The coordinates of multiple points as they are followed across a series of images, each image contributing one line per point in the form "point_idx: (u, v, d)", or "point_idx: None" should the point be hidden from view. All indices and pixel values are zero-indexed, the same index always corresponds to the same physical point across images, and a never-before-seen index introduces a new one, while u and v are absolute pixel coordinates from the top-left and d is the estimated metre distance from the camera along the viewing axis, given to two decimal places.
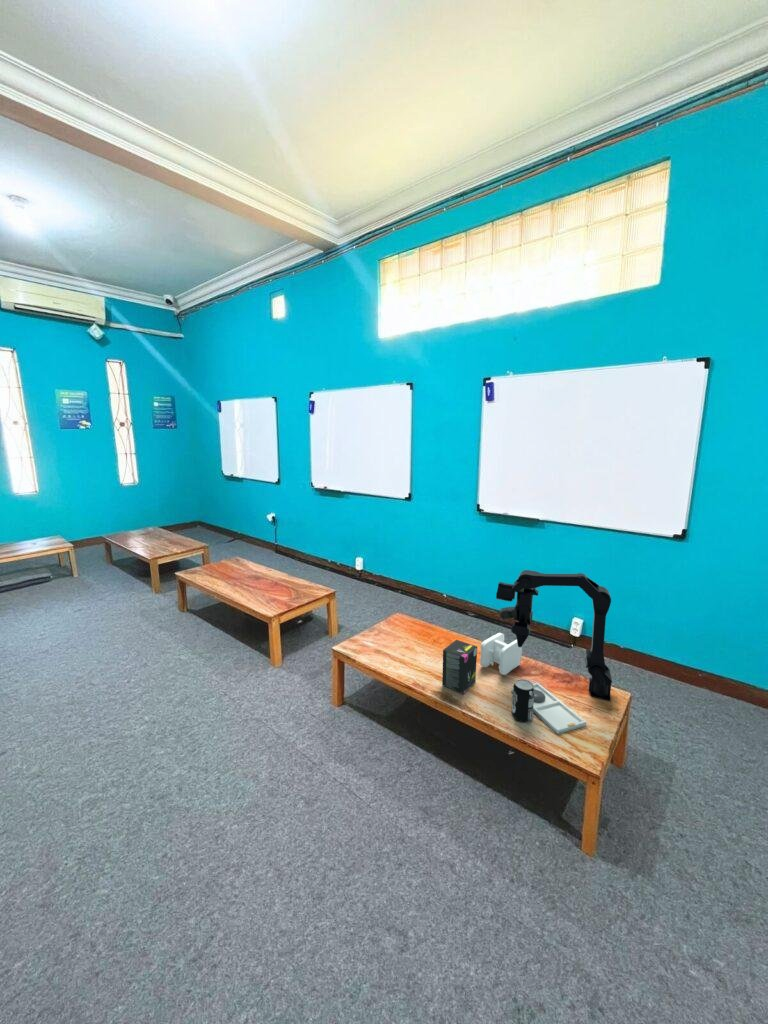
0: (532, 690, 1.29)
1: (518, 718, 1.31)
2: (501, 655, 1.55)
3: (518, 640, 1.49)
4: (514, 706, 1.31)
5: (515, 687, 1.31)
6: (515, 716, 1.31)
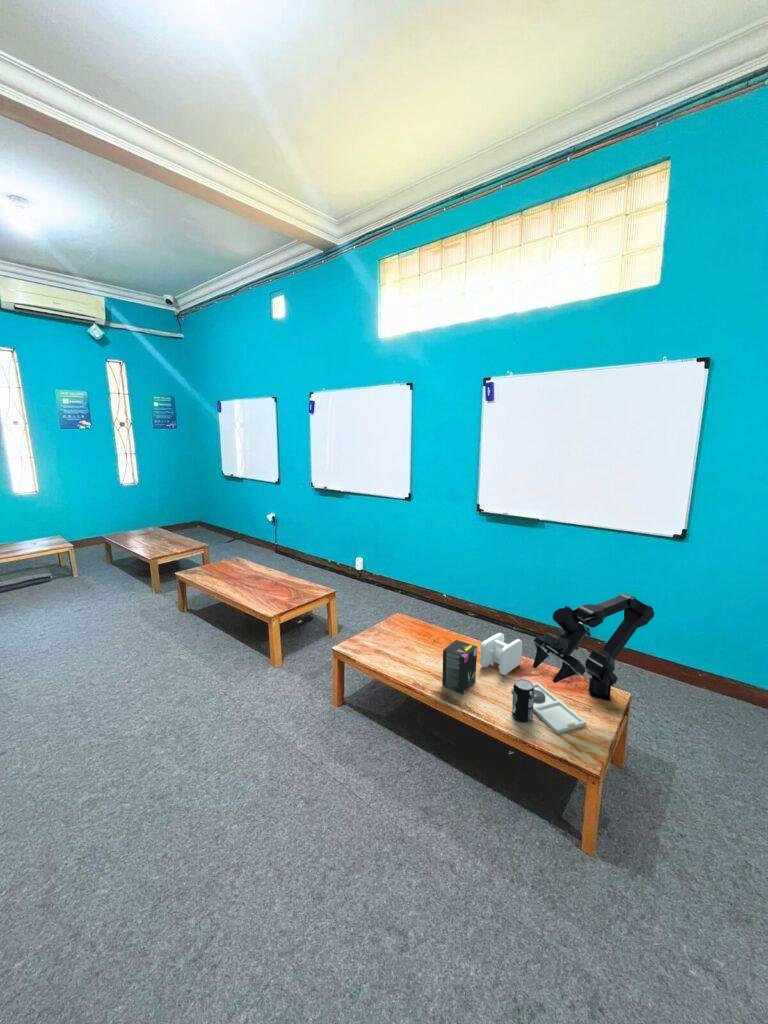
0: (532, 690, 1.29)
1: (518, 718, 1.31)
2: (501, 655, 1.55)
3: (560, 675, 1.29)
4: (514, 706, 1.31)
5: (515, 687, 1.31)
6: (515, 716, 1.31)
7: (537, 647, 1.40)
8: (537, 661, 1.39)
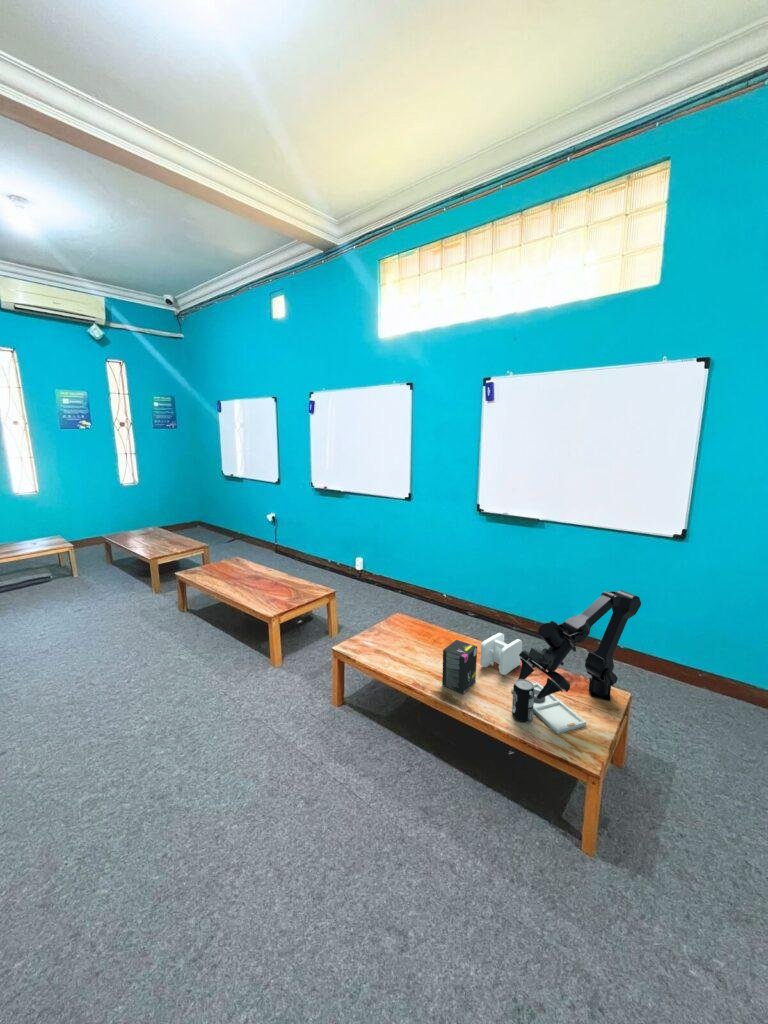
0: (532, 690, 1.29)
1: (518, 718, 1.31)
2: (501, 655, 1.55)
3: (545, 691, 1.27)
4: (514, 706, 1.31)
5: (515, 687, 1.31)
6: (515, 716, 1.31)
7: (522, 662, 1.38)
8: (522, 676, 1.37)
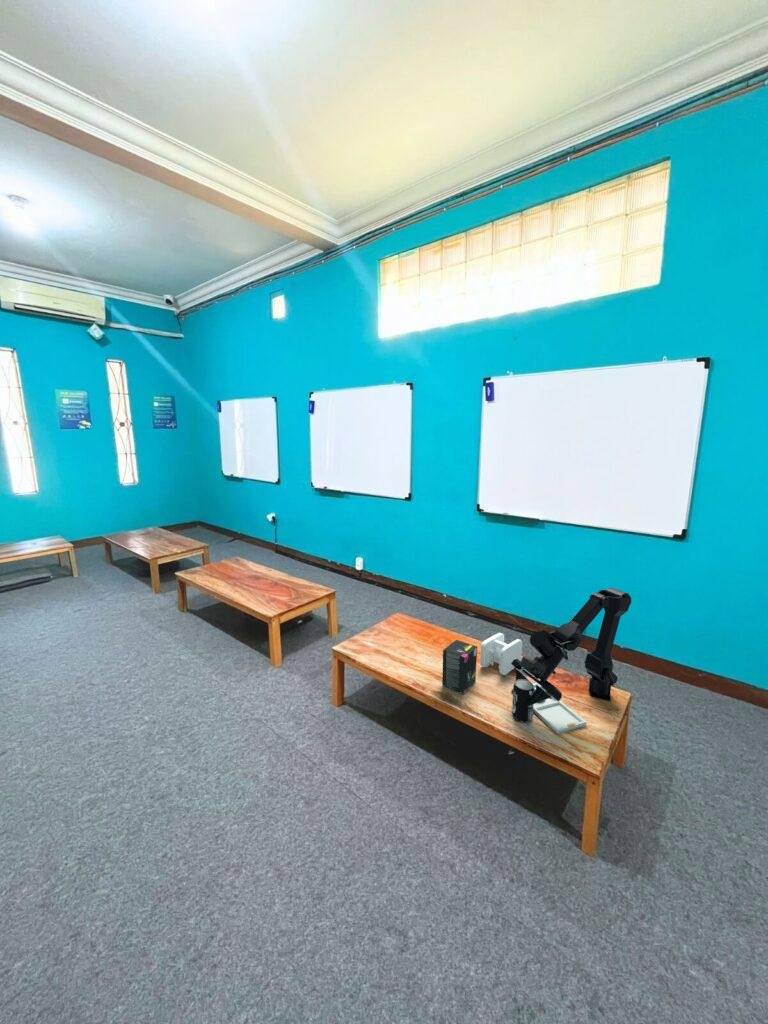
0: (532, 690, 1.29)
1: (518, 718, 1.31)
2: (501, 655, 1.55)
3: (534, 699, 1.28)
4: (514, 706, 1.31)
5: (515, 687, 1.31)
6: (515, 716, 1.31)
7: (517, 672, 1.36)
8: None
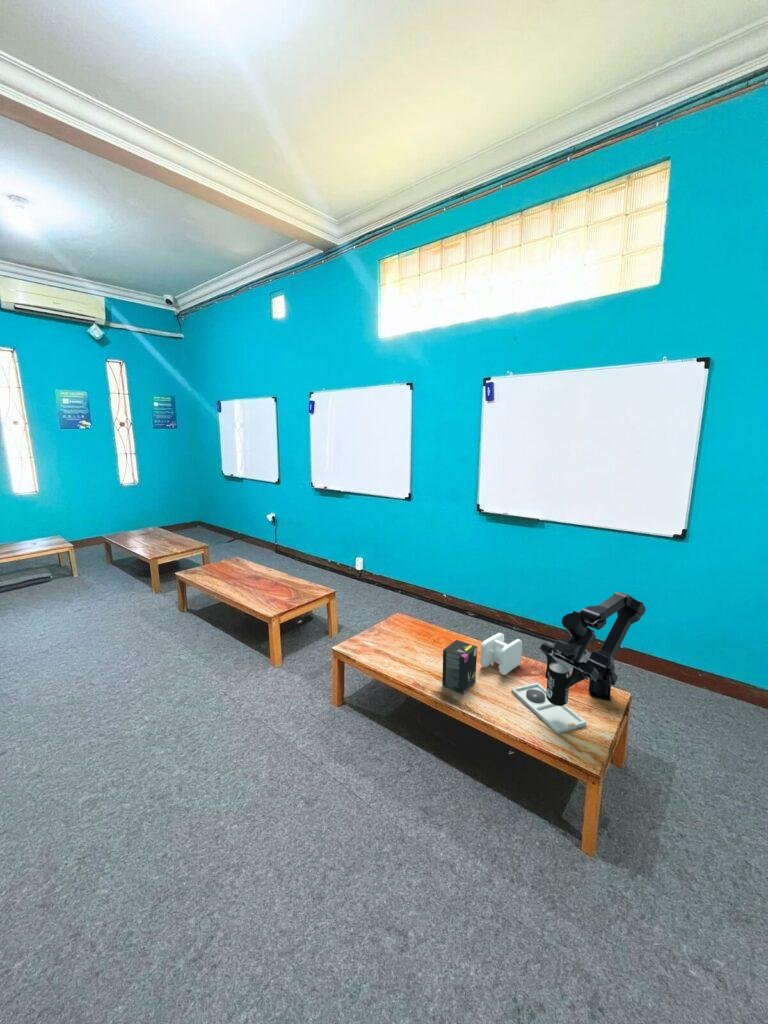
0: (568, 673, 1.28)
1: (555, 702, 1.29)
2: (501, 655, 1.55)
3: (571, 681, 1.26)
4: (550, 691, 1.29)
5: (551, 672, 1.29)
6: (552, 701, 1.29)
7: (548, 656, 1.34)
8: None
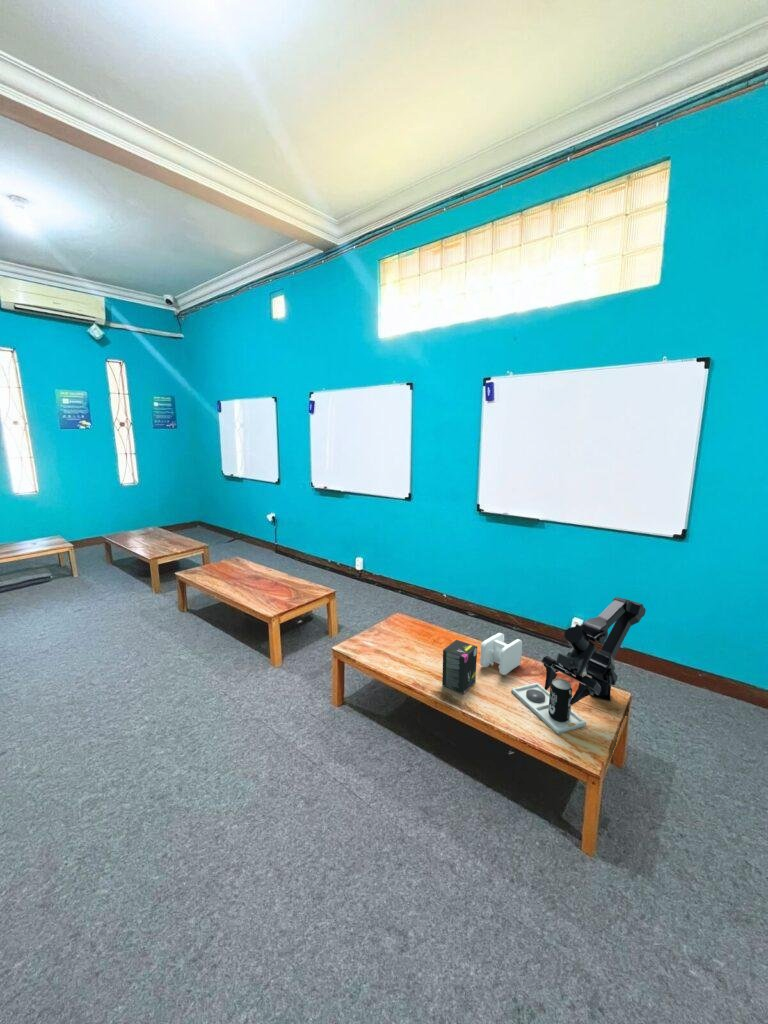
0: (571, 689, 1.29)
1: (558, 719, 1.30)
2: (501, 655, 1.55)
3: (577, 697, 1.26)
4: (553, 707, 1.30)
5: (554, 688, 1.30)
6: (554, 717, 1.30)
7: (547, 668, 1.36)
8: (548, 682, 1.35)
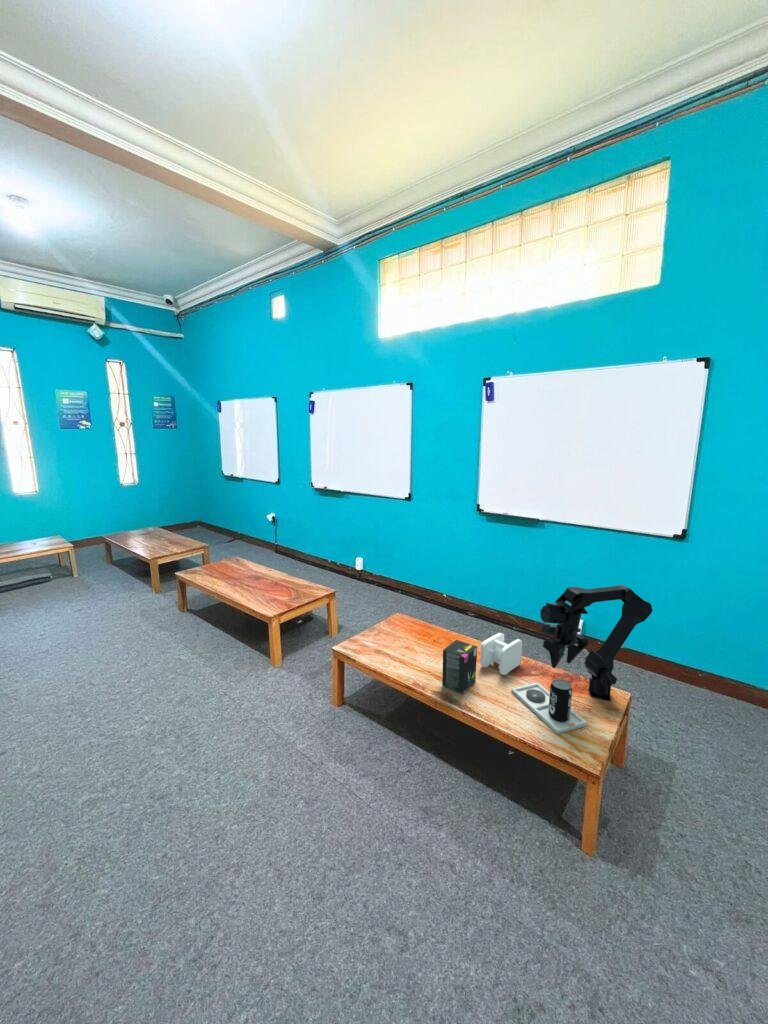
0: (571, 689, 1.29)
1: (558, 719, 1.30)
2: (501, 655, 1.55)
3: (551, 659, 1.38)
4: (553, 707, 1.30)
5: (554, 688, 1.30)
6: (554, 717, 1.30)
7: None
8: (568, 656, 1.44)
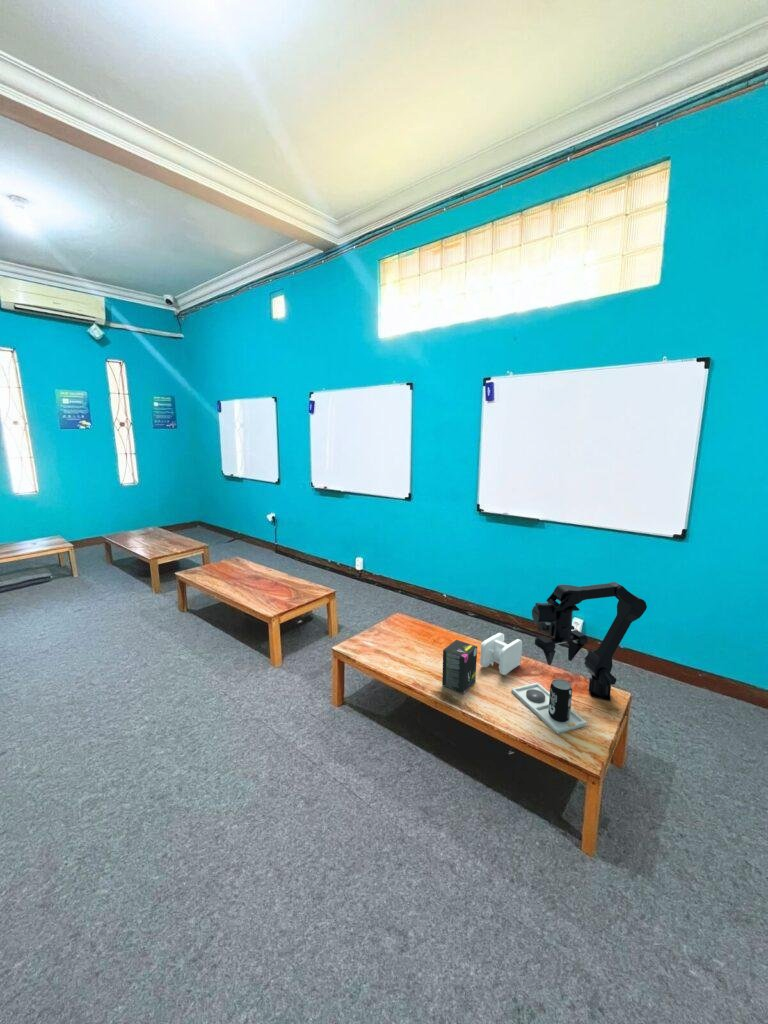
0: (571, 689, 1.29)
1: (558, 719, 1.30)
2: (501, 655, 1.55)
3: (546, 656, 1.41)
4: (553, 707, 1.30)
5: (554, 688, 1.30)
6: (554, 717, 1.30)
7: None
8: (569, 653, 1.44)
